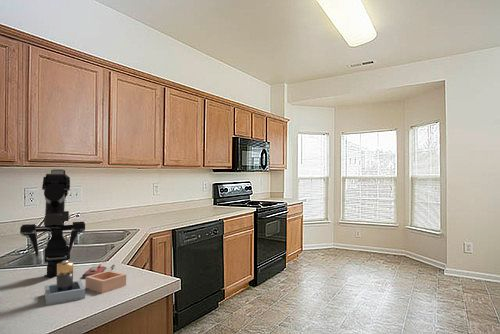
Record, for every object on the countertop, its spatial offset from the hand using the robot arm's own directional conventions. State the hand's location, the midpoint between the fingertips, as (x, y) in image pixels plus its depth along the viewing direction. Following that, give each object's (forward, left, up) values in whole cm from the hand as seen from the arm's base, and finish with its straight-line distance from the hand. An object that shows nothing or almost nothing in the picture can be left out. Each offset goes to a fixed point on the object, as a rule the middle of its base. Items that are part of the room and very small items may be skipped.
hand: (53, 254), depth 111 cm
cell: (-2, +3, -14) cm, 15 cm away
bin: (-14, +10, -15) cm, 23 cm away
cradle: (-2, +3, -15) cm, 16 cm away
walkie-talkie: (-30, -5, -16) cm, 35 cm away
